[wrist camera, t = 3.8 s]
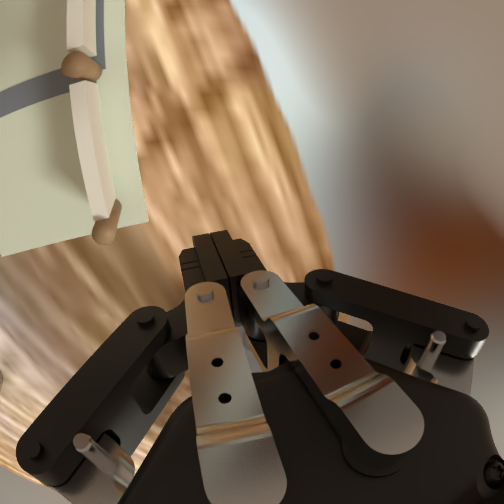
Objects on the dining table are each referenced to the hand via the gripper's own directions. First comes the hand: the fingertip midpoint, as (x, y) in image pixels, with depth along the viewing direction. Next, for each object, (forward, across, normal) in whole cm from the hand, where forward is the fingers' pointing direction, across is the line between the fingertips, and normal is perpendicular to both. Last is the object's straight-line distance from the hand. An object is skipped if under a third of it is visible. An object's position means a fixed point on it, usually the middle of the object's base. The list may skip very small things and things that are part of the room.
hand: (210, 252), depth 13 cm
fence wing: (+14, +7, -3) cm, 16 cm away
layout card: (+15, +12, -10) cm, 22 cm away
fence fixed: (+15, +7, -17) cm, 23 cm away
